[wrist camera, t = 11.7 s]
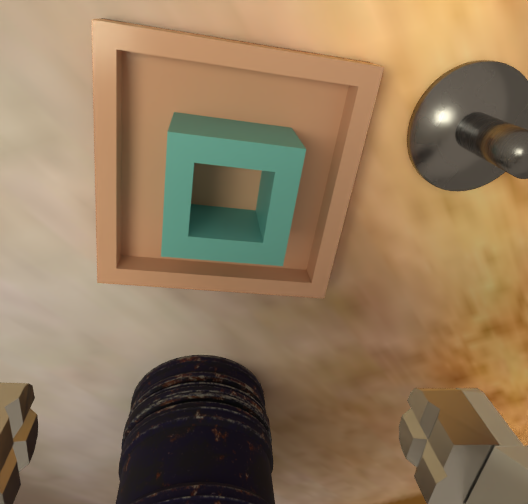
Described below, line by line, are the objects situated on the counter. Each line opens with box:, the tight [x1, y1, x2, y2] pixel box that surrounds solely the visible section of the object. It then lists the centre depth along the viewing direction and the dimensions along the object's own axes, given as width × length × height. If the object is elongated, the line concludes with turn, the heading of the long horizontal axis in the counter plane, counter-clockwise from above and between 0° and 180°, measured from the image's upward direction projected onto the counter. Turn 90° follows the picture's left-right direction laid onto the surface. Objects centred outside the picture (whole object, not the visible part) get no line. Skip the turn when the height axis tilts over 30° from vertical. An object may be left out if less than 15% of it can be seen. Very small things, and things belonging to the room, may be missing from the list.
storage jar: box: [116, 355, 275, 504], centre depth 26 cm, size 10×10×15 cm
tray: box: [91, 19, 384, 298], centre depth 24 cm, size 13×13×2 cm
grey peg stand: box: [407, 60, 528, 191], centre depth 22 cm, size 7×7×6 cm
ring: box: [161, 112, 306, 266], centre depth 22 cm, size 6×6×4 cm
